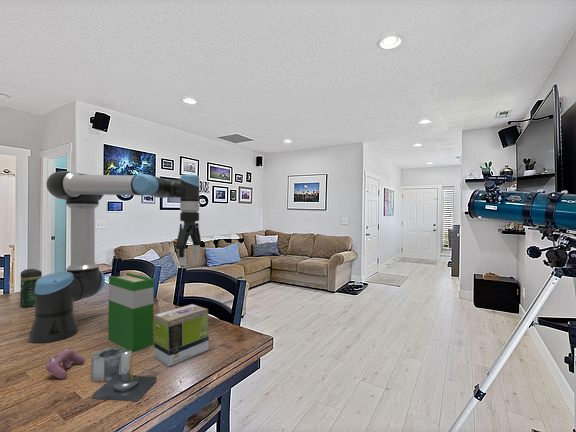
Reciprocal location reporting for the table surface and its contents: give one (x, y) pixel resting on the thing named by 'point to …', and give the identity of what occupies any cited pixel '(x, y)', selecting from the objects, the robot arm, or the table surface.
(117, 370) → the hub
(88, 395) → the table surface
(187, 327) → the tea box
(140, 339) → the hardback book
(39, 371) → the table surface
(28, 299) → the coffee jar
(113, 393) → the block
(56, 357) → the video game controller
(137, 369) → the table surface
